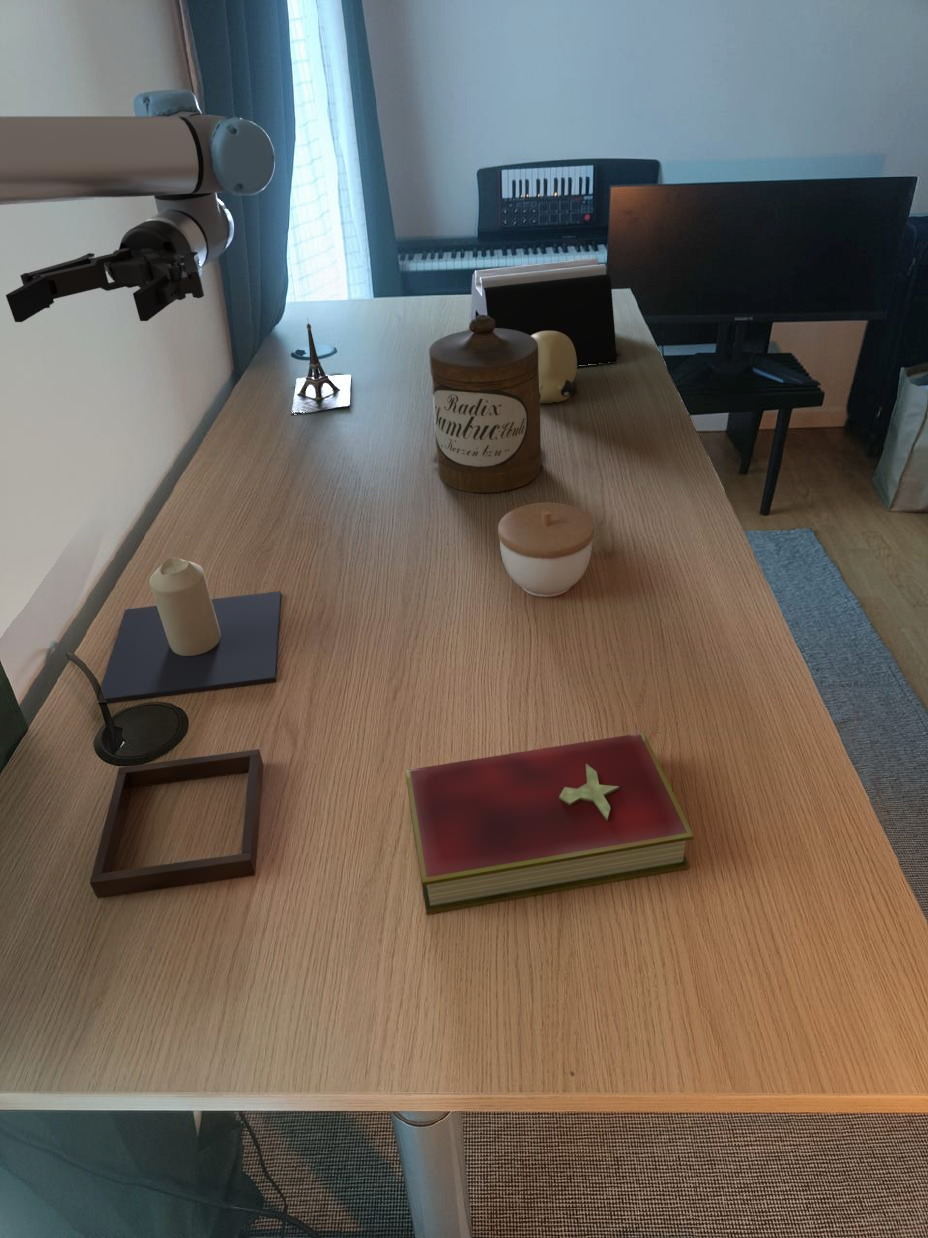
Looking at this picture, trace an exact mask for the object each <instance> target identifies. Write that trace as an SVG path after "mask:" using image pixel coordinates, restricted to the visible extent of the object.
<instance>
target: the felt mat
mask: <svg viewBox="0 0 928 1238" xmlns="http://www.w3.org/2000/svg"><path fill="white" fill-rule="evenodd" d="M211 600H212V604H213V607H214V611H215V614H216V618H217V622H218V625H219V629H220V635H221V637H220V640H219V642H218V644H217V645H216V646H215V647H214V648H212V649H211V650H209V651H207V652H205V653H202V654H199V655H194V656H182V655H179V654H176V653H175V652H173V651H172V649H171V647H170V645H169V642H168V639H167V636H166V633H165V630H164V627H163V624H162V621H161V618H160V615H159V611H158V608H157V605H151V606H142V607H135V608H126V609H125V610H124V612H123V616H122V619H121V622H120V625H119V628H118V631H117V635H116V638H115V641H114V645H113V647H112V651H111V654H110V657H109V661H108V664H107V666H106V670H105V674H104V677H103V679H102V683H101V686H100V689H102V692H103V695H104V698H105V700H106V702H107V703H106V704H112V703H118V702H126V701H134V700H142V699H150V698H158V697H166V696H173V695H174V696H175V695H181V694H182V695H183V694H189V693H196V692H197V693H199V692H206V691H213V690H222V689H229V688H238V687H243V686H244V687H245V686H251V685H261V684H267V683H268V684H269V683H275V682H277V671H278V657H279V656H278V655H279V638H280V636H279V635H280V625H281V624H280V623H281V622H280V621H281V607H282V592H281V591H280V590H278V591H268V592H261V593H252V594H245V595H244V594H243V595H235V596H227V597H219V598H211Z"/></svg>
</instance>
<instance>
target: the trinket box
mask: <svg viewBox="0 0 928 1238" xmlns="http://www.w3.org/2000/svg"><path fill="white" fill-rule="evenodd" d="M497 529H498V530H497V531H498V532H497V533H498V538H499V550H500V555H501V560H502V563H503V565H504V569H505V570H506V572H507V575H508V576H509V577H510V578H511V580H512V581H513V582H514V583H515V584H517V585H518V586H519V587H520V588H521V589H522V590H523V591H524V592H525V593H527V594H529V595H531V596H535V597H539V598H552V597H553V598H554V597H557V596H561V595H563V594H565V593H567V592H568V591H569V590H570V589H571V588H572V587H573V586H574V585H575V584H577V583H578V582H579V581H580V580H581V578H583V576H584V575H585V573H586V571H587V569H588V566H589V564H590V562H591V557H592V552H593V544H594V535H595V523H594V521H593V519H592V517H591V516H590V515H588V513H587V512H585V511H584V510H582V509H581V508H578V507H576V506H572V505H569V504H567V503H559V502H550V501H549V502H534V503H528V504H525V505H521V506H519V507H516V508H514V509H511V510H509V511H508V512H507V513H506V514H505V515H503V517H501V519H500V521H499V523H498V528H497Z"/></svg>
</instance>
